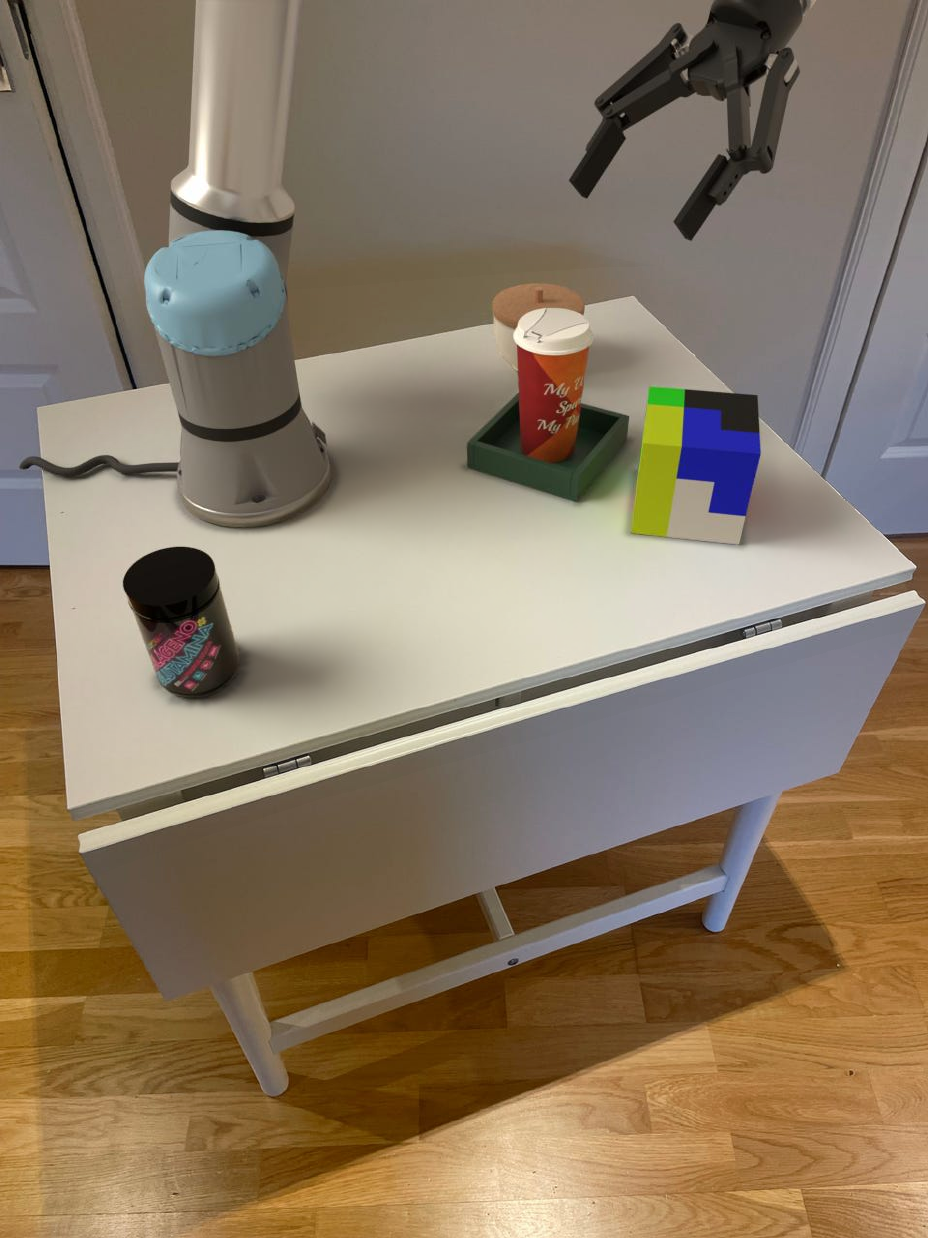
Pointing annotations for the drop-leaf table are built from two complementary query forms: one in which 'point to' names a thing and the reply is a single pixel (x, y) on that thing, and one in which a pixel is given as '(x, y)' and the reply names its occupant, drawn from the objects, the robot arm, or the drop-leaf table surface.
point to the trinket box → (525, 300)
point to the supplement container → (183, 620)
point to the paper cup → (551, 380)
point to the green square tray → (568, 479)
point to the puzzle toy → (696, 464)
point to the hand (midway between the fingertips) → (627, 209)
